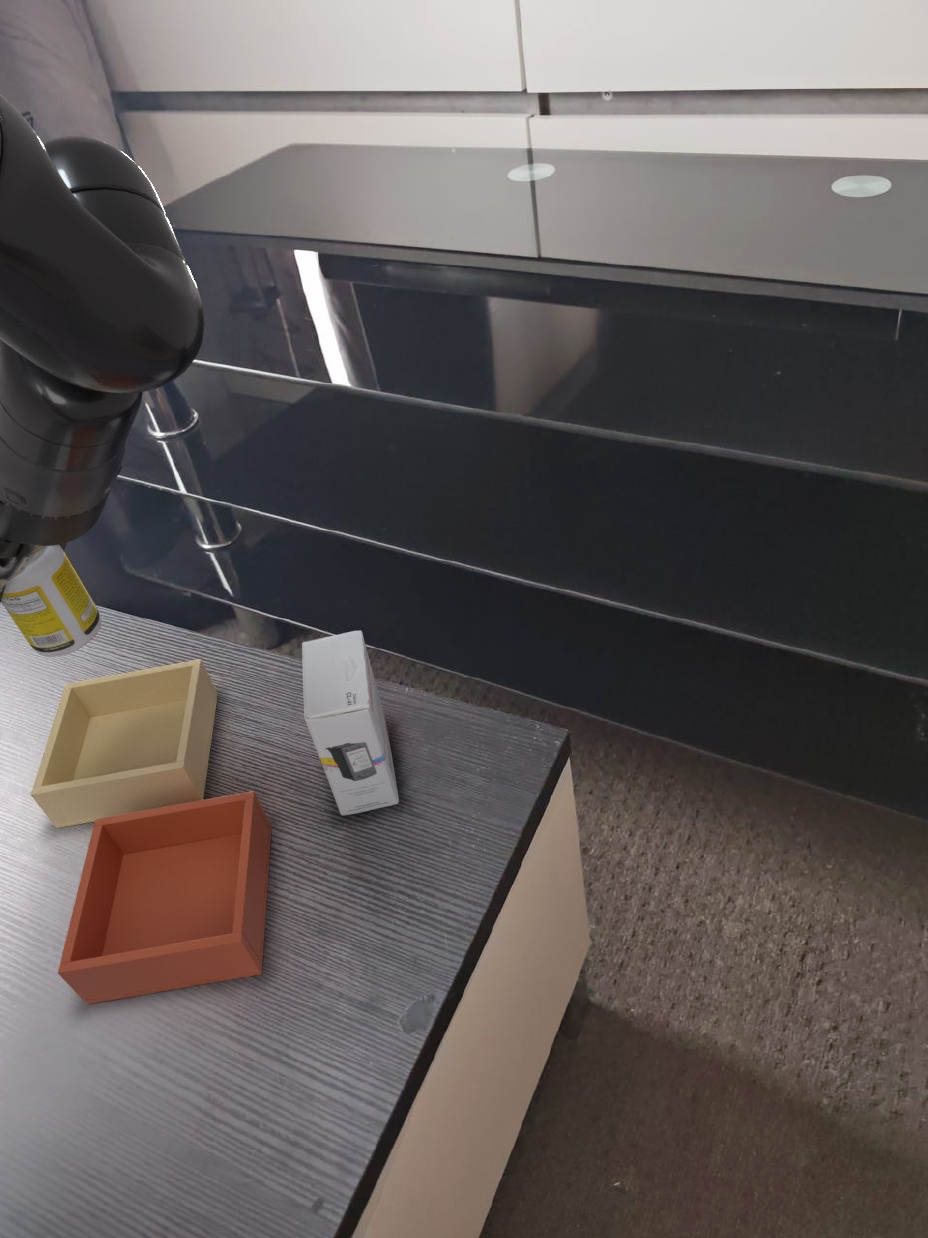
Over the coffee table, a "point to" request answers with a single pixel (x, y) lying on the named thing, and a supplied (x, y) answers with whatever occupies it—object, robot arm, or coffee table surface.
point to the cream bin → (128, 744)
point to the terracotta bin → (170, 899)
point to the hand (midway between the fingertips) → (16, 571)
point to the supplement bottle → (51, 604)
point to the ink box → (348, 722)
